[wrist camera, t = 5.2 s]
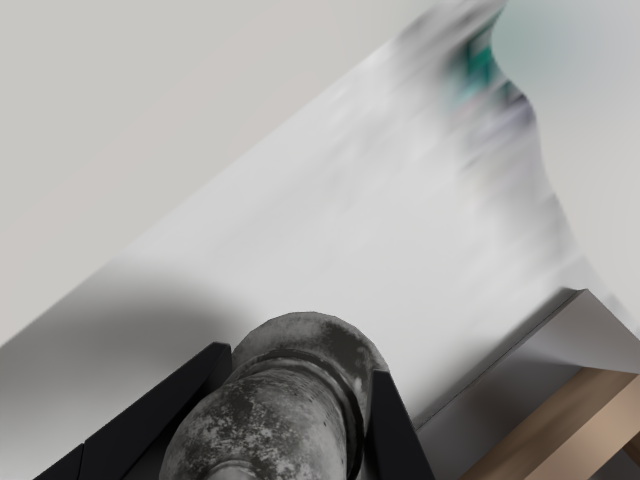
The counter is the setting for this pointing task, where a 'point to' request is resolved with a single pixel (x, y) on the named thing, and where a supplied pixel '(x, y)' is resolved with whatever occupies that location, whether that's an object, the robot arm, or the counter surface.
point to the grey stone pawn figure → (282, 407)
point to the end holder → (548, 406)
